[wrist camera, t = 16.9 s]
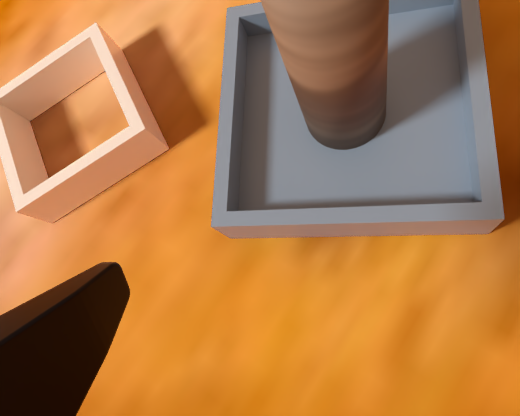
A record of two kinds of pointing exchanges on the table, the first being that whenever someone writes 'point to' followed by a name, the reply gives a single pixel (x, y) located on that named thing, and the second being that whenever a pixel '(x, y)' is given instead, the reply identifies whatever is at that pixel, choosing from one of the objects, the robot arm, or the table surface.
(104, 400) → the table surface
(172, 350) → the table surface
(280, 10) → the pepper mill
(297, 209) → the tray
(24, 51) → the table surface
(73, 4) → the table surface
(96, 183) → the holder
